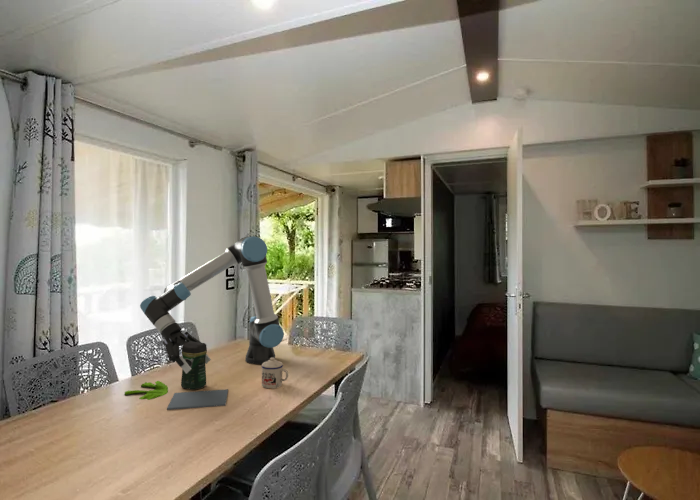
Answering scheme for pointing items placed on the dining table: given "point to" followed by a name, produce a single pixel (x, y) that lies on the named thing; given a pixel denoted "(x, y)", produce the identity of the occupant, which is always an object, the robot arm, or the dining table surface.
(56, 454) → the dining table surface
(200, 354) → the coffee jar
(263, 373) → the teacup with lid
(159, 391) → the cloth
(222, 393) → the mat
